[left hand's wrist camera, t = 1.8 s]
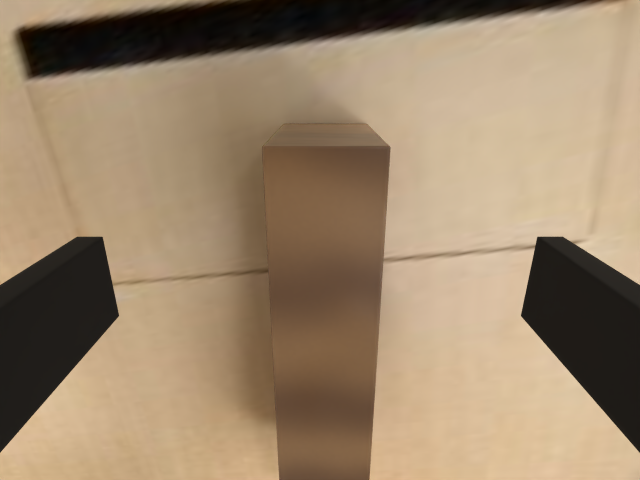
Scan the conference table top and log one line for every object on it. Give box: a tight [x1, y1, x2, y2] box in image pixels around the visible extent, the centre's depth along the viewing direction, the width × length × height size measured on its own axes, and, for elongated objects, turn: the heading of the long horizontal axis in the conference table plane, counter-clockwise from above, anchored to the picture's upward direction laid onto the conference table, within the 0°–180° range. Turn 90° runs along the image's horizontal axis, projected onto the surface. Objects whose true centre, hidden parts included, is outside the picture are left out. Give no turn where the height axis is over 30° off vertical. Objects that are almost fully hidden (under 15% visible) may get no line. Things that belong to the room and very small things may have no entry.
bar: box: [262, 124, 390, 480], centre depth 23 cm, size 23×5×8 cm, turn 0°
